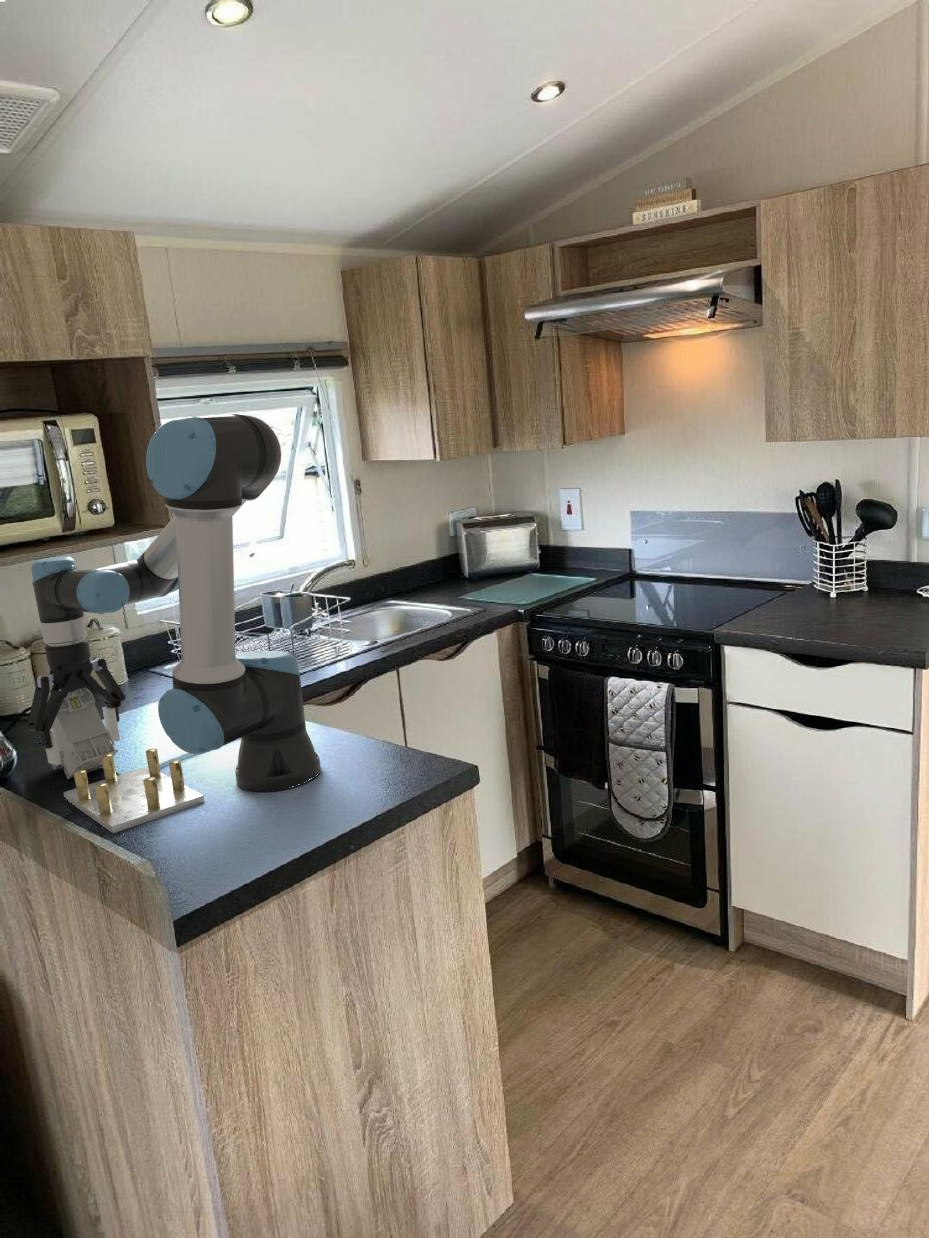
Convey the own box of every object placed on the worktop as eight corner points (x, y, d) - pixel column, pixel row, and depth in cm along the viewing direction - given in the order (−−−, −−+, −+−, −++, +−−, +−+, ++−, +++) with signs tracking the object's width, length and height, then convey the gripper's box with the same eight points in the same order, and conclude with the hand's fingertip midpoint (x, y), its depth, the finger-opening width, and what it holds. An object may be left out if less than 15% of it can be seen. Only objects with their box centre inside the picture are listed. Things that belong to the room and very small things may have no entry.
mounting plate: (204, 801, 166) (199, 767, 165) (113, 833, 156) (106, 797, 155) (149, 771, 183) (144, 740, 182) (64, 798, 173) (58, 765, 172)
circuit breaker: (95, 777, 192) (66, 711, 195) (118, 751, 183) (87, 682, 186) (59, 790, 187) (29, 722, 190) (79, 763, 177) (48, 692, 180)
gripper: (107, 625, 190) (124, 728, 194) (-8, 657, 169) (14, 771, 174) (133, 626, 186) (150, 732, 190) (18, 659, 165) (40, 777, 170)
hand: (85, 751), depth 182 cm, fingers open, 12 cm apart
